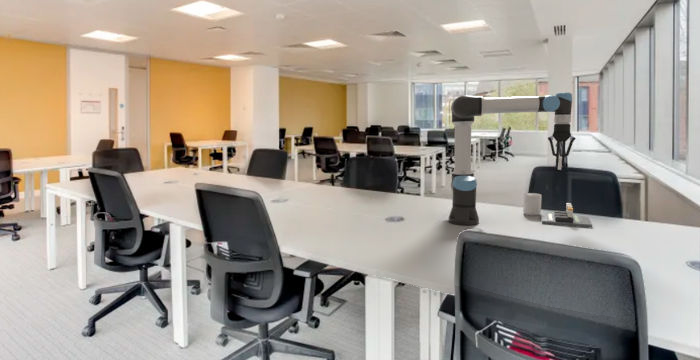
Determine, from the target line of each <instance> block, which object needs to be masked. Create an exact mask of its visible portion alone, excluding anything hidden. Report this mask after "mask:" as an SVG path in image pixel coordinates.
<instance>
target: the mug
mask: <svg viewBox="0 0 700 360" xmlns="http://www.w3.org/2000/svg"><path fill="white" fill-rule="evenodd" d="M522 211H523V213H524V215H527V216H539V215H541V214H542V213H541V211H542V194H541V193H536V192H534V193H533V192H527V193H524V194H523V210H522Z"/></svg>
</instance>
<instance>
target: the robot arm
mask: <svg viewBox="0 0 700 360" xmlns="http://www.w3.org/2000/svg"><path fill="white" fill-rule="evenodd" d="M452 101H453V102H452V104H451V106H450V107H451V108H450V110H451V123H452V124H453V125H454V169H453V171H452V172H451V183H450V188H451V192H452V206H451V210H450V213H449V215H448V222H449V223H450V224H452V225H458V226H459V225H460V226H474V225H475V226H476V225H478V224H479V223H480V218H479V214H478V211H477V207H476V205H477V185H478V183H477V179H476V177H475V172H474V171H473V170H472V125H473V124H474V123H475V117H481V116H483V115H484V114H489V115H490V114H509V113H510V114H513V113H514V114H515V113H554V119H553V123H554V124H553V132H552V135H550V136H548V137H547V140H548V141H549V143H550V144H549V145H550V148H551V154H552V156H554V157H555V163H556V164H557V170H560V171H562V164H564V163H565V157H569V154H570V152H571V149H572V146H573V143H574V142H575V140H576V137H574V136H573V135H572V133H571V122H572V109H573V107H572V106H573V93H571V92H557V93H556V94H555V95H554V94H553V95H552V94H551V95H539V96H538V95H537V96H536V95H535V96H532V95H531V96H511V97H509V96H506V97H483V96H482V95H481V96H480V95H479V96H473V95H463V94H462V95H460V96H458V97H457V98H455V99H454V100H452ZM553 140H555V141H556V151H555V146H554V142H553ZM568 140H569V143H568V147H567V148H566V142H567V141H568ZM561 143H562V144H561ZM561 145H562V147H561V156H560V146H561ZM565 151H566V152H565Z"/></svg>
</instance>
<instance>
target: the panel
mask: <svg viewBox="0 0 700 360" xmlns="http://www.w3.org/2000/svg"><path fill="white" fill-rule="evenodd" d="M541 224H542V225H543V224H544V225H552V224H553V225H554V226H564V225H568V226H567V227H569V226H570V227H576V226H580V227H579V228H588V227H591V228H593V223H592V221H591V219H590V217H589V216H582V215H573V216H572V217H568V215H567V212H566V210H565V211H564V210H554V211H553V213H541ZM591 228H590V229H591Z"/></svg>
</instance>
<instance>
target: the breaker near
mask: <svg viewBox="0 0 700 360" xmlns="http://www.w3.org/2000/svg"><path fill="white" fill-rule="evenodd" d="M573 212H574V208H573V207H572V208H568V217H572V216H574V215H573V214H574V213H573Z"/></svg>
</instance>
